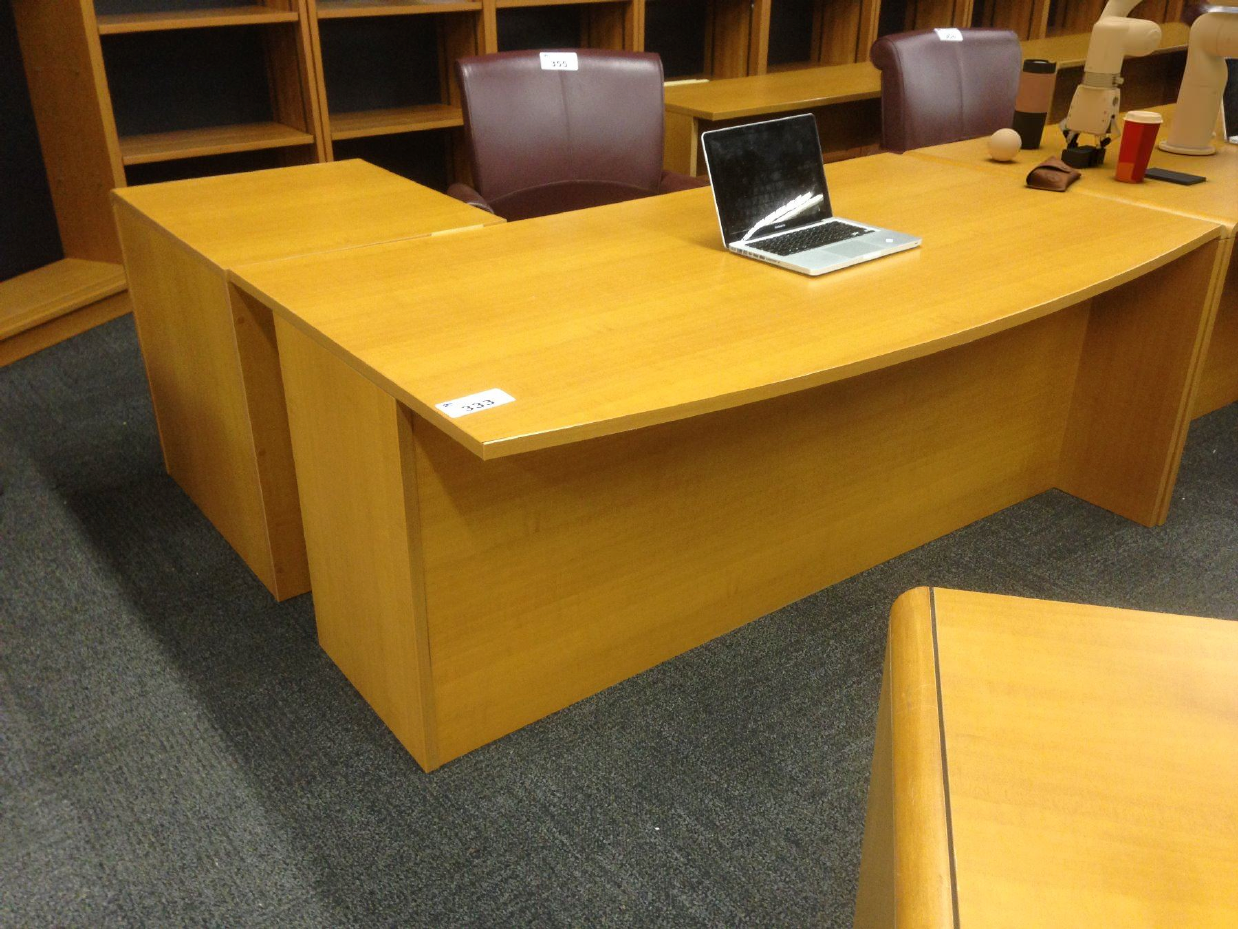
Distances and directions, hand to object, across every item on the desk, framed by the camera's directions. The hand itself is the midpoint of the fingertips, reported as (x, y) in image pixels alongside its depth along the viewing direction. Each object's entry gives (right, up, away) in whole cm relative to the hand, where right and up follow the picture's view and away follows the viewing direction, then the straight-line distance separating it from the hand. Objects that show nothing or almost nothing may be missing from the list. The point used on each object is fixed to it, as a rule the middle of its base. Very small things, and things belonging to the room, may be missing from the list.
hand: (1081, 162), depth 243 cm
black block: (0, 0, 0) cm, 0 cm away
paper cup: (+4, -8, -13) cm, 16 cm away
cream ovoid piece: (-17, +1, +3) cm, 18 cm away
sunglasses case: (-13, -9, -16) cm, 23 cm away
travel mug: (-6, +9, +18) cm, 21 cm away
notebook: (+15, -7, -11) cm, 19 cm away
